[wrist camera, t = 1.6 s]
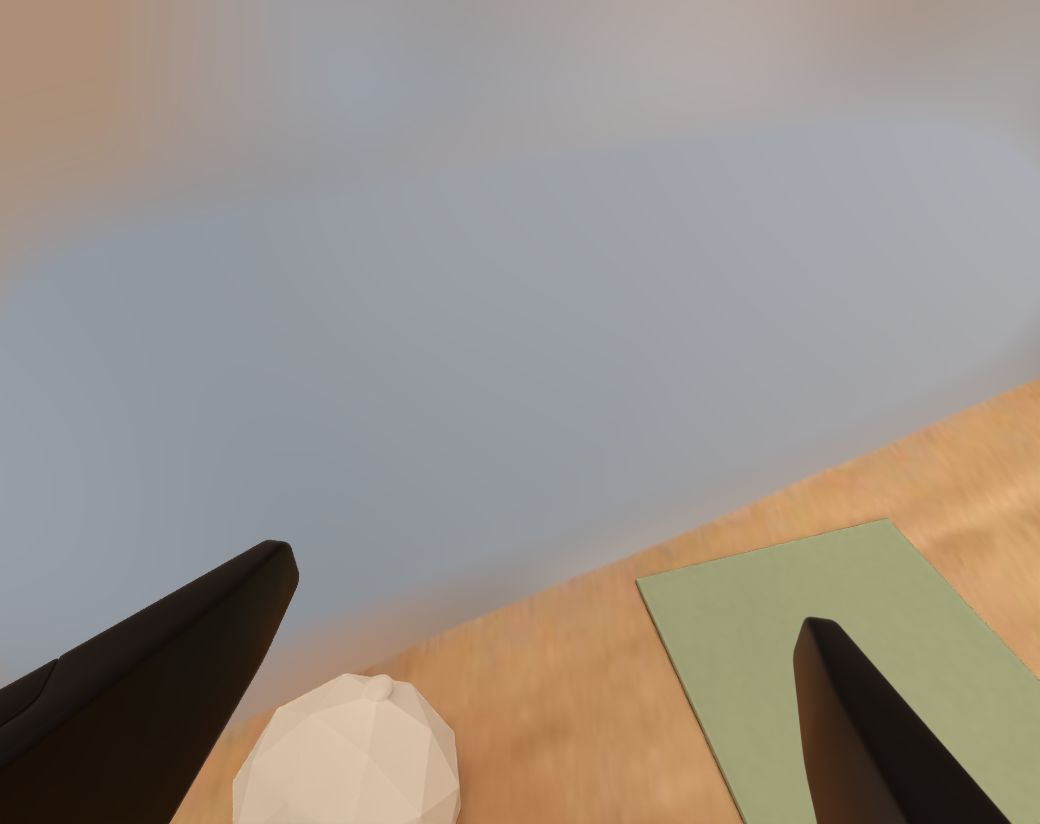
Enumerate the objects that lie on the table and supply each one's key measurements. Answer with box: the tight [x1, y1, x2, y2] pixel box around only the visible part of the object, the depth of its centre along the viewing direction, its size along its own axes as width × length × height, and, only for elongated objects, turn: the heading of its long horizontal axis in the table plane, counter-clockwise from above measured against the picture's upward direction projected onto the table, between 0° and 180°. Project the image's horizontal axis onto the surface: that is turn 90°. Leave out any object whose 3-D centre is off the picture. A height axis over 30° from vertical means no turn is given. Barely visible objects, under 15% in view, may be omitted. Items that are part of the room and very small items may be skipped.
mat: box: [636, 518, 1040, 824], centre depth 21 cm, size 20×14×1 cm
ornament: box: [233, 673, 461, 824], centre depth 19 cm, size 7×7×8 cm
